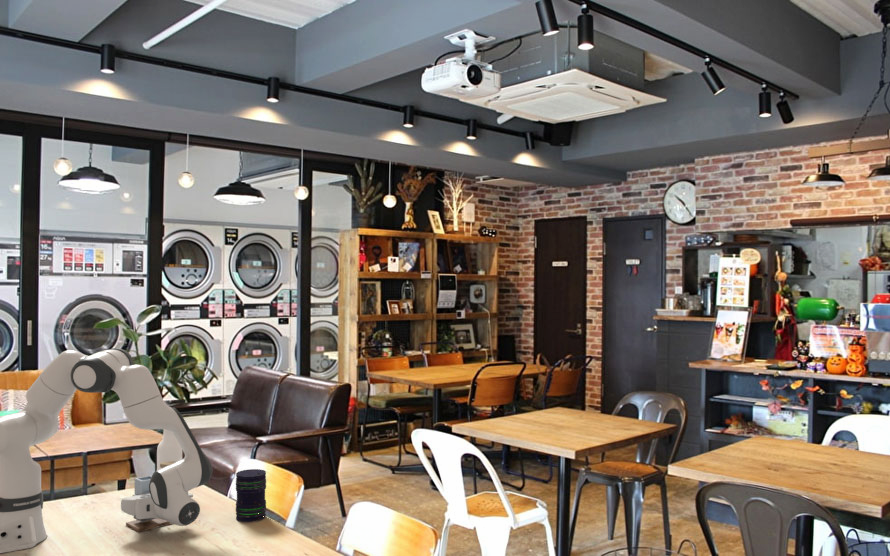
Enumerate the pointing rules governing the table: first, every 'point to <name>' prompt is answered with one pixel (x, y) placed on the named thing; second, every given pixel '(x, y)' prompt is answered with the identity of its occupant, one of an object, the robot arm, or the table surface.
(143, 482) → the sleeve
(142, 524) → the pin board
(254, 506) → the black cylinder
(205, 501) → the table surface
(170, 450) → the alcohol
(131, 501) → the robot arm
